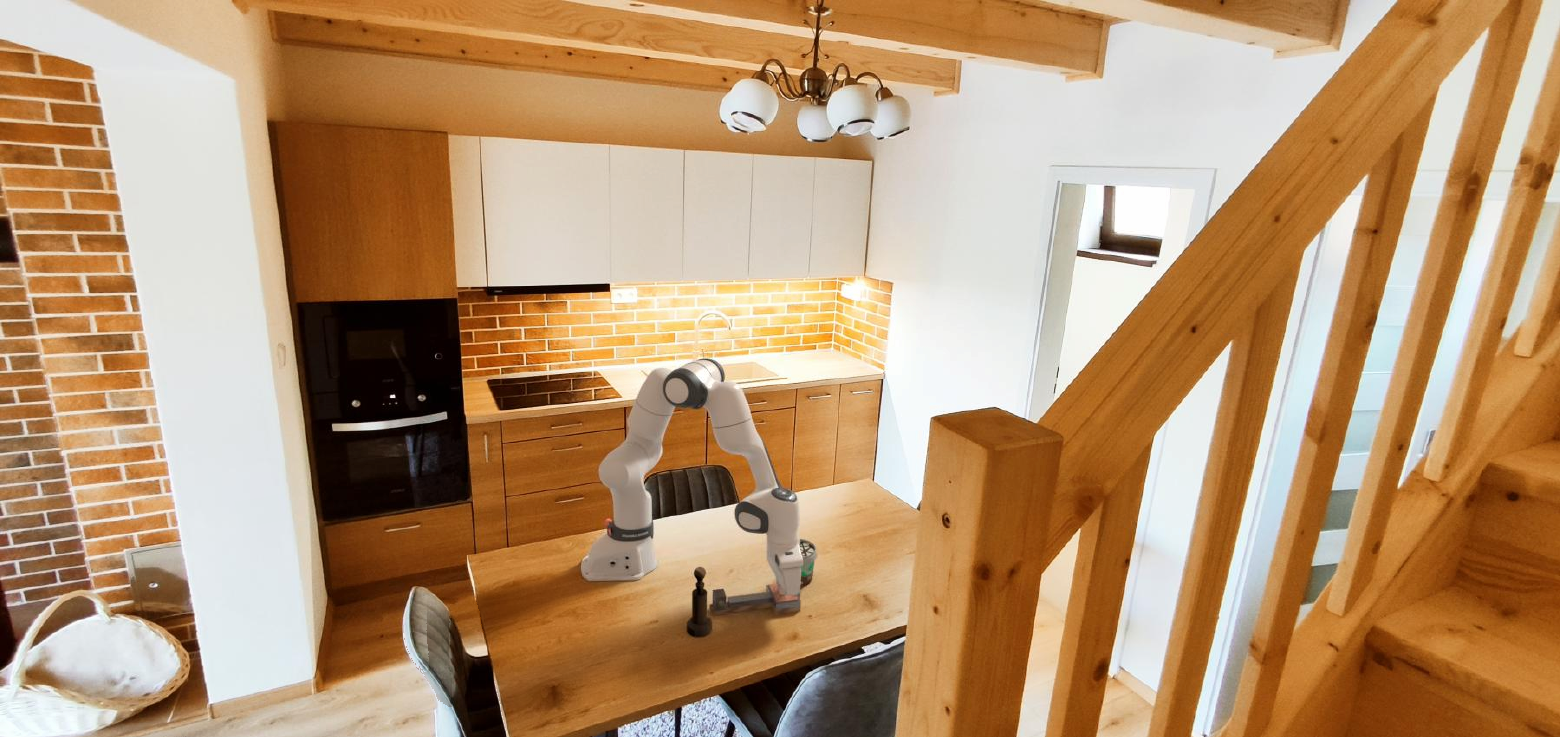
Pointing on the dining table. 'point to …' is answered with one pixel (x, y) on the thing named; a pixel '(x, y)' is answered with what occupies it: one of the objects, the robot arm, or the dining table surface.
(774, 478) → the robot arm
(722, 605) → the walnut jaw
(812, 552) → the food container
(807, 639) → the dining table surface
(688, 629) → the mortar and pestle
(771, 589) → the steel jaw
